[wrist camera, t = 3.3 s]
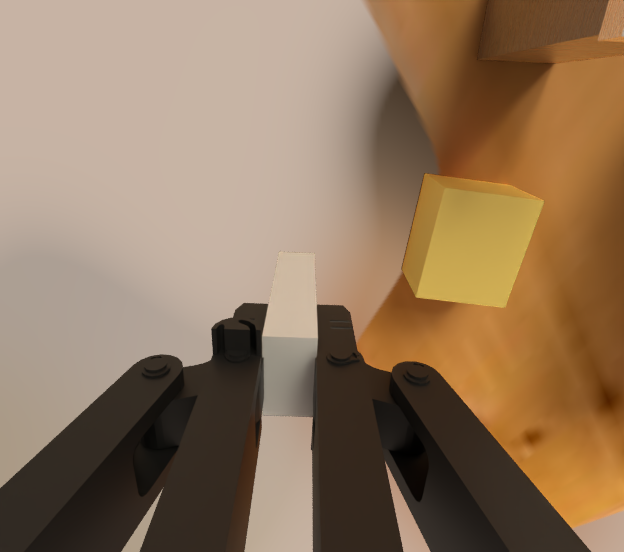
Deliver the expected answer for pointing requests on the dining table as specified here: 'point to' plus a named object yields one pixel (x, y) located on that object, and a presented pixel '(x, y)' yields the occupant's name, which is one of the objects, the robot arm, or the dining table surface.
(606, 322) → the dining table surface
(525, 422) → the dining table surface
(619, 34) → the grey tall block
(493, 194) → the block
